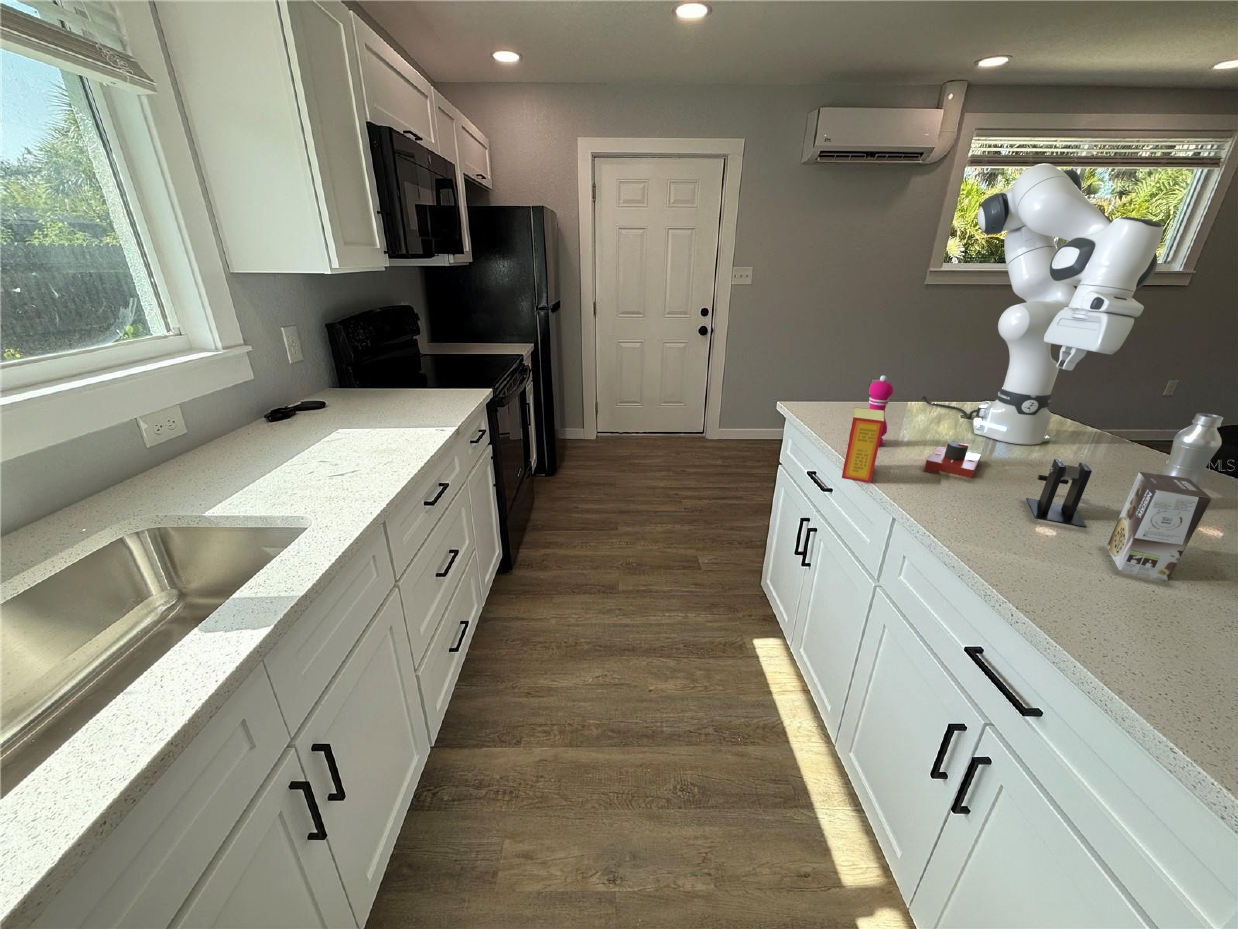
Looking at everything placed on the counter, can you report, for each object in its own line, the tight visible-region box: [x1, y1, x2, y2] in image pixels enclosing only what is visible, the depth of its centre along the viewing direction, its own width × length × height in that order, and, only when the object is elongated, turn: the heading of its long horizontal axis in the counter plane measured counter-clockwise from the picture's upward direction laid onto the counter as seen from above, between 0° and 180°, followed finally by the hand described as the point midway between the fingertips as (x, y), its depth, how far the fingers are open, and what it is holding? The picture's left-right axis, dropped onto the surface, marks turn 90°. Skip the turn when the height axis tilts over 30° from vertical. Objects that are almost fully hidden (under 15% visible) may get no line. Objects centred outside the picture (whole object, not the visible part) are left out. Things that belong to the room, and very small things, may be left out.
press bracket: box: [1025, 458, 1093, 529], centre depth 100 cm, size 10×8×12 cm
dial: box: [944, 440, 970, 460], centre depth 124 cm, size 4×4×4 cm
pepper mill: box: [868, 374, 894, 447], centre depth 139 cm, size 7×7×20 cm
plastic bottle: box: [1160, 412, 1224, 487], centre depth 104 cm, size 6×7×20 cm
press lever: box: [1036, 464, 1080, 485], centre depth 102 cm, size 11×5×2 cm, turn 151°
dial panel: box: [923, 445, 982, 479], centre depth 125 cm, size 13×10×3 cm
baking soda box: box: [841, 407, 884, 484], centre depth 120 cm, size 10×6×16 cm
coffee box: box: [1106, 471, 1213, 582], centre depth 83 cm, size 9×6×16 cm
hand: (1063, 369), depth 106 cm, fingers closed
